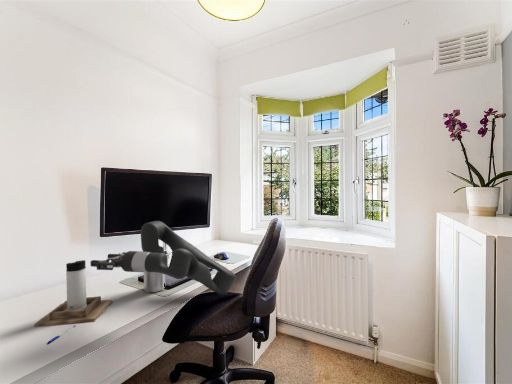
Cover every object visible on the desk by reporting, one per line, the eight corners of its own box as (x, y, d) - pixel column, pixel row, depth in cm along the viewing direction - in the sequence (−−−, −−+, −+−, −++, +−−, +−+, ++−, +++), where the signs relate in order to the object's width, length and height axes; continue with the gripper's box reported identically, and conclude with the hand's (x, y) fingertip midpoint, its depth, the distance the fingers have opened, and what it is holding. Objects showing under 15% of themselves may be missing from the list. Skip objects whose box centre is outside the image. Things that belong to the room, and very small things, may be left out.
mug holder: (112, 301, 108) (112, 293, 108) (95, 321, 92) (94, 311, 92) (61, 305, 105) (61, 297, 105) (34, 326, 89) (34, 317, 89)
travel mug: (71, 316, 94) (70, 264, 94) (64, 311, 97) (63, 261, 97) (89, 309, 99) (88, 260, 99) (82, 305, 103) (81, 257, 102)
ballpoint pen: (48, 345, 78) (48, 342, 78) (46, 345, 78) (46, 342, 78) (75, 326, 89) (75, 324, 89) (73, 326, 89) (73, 324, 89)
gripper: (126, 278, 85) (84, 276, 88) (149, 265, 100) (113, 263, 102) (125, 257, 85) (84, 255, 88) (149, 247, 99) (113, 245, 102)
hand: (100, 259), depth 95 cm, fingers open, 8 cm apart
